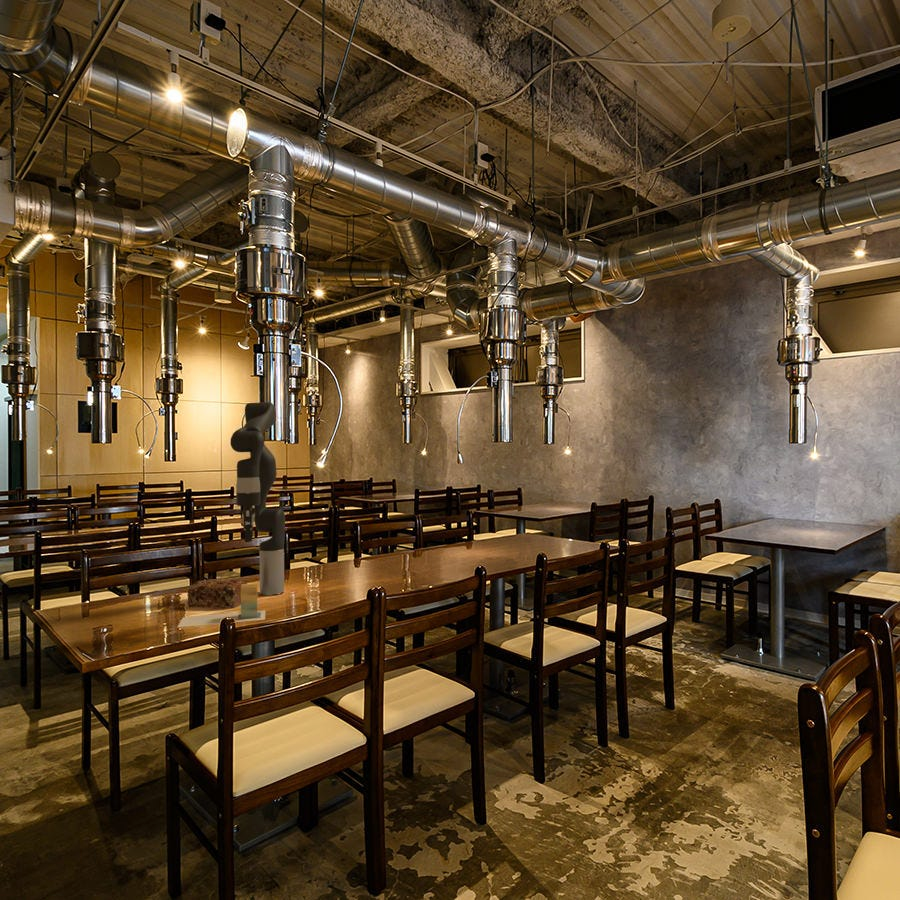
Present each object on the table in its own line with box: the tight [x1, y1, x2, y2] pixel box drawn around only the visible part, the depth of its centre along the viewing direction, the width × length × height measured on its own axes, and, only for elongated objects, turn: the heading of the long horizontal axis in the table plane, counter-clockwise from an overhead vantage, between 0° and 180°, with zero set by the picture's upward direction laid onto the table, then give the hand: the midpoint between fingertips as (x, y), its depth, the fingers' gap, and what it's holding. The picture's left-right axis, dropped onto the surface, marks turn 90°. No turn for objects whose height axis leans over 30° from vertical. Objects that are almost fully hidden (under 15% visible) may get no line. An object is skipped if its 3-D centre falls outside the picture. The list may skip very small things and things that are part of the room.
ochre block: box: [241, 583, 258, 603], centre depth 191 cm, size 5×5×5 cm
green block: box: [240, 599, 259, 618], centre depth 191 cm, size 5×5×5 cm
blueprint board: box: [177, 610, 266, 628], centre depth 189 cm, size 12×26×1 cm, turn 107°
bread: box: [187, 577, 248, 609], centre depth 208 cm, size 19×11×10 cm, turn 78°
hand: (248, 539), depth 192 cm, fingers open, 8 cm apart
